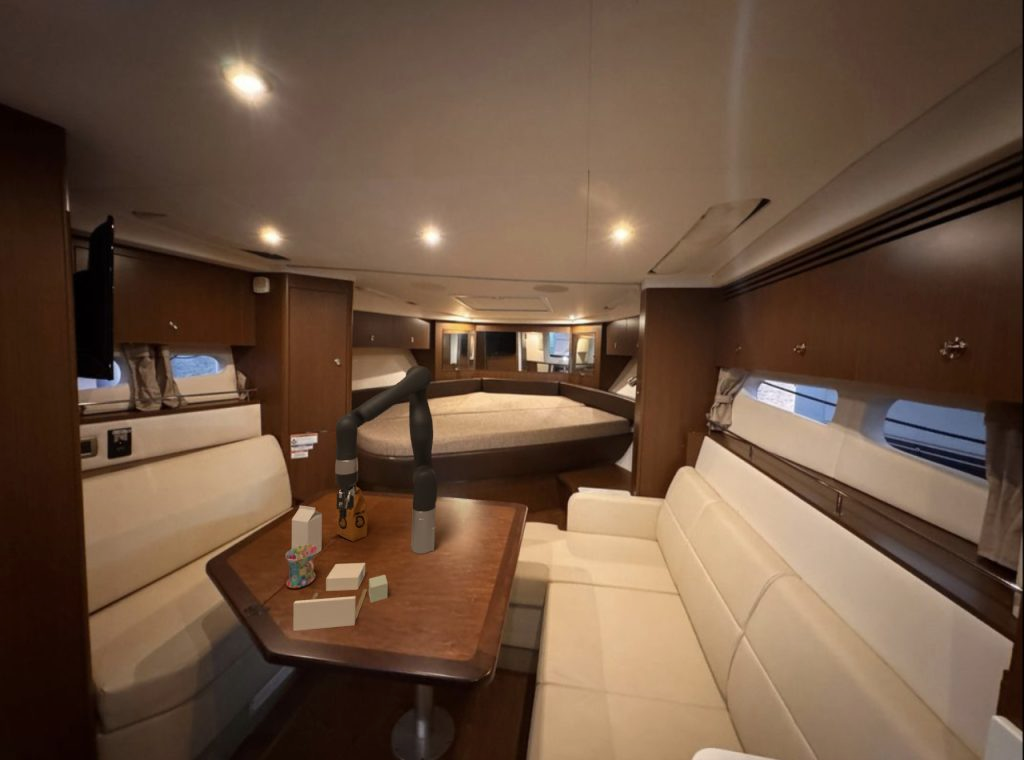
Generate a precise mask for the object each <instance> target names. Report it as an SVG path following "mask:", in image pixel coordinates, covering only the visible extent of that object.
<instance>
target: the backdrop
mask: <svg viewBox="0 0 1024 760" xmlns="http://www.w3.org/2000/svg"><path fill="white" fill-rule="evenodd" d="M356 598H357V596H356V595H353V596H342V597H341V596H340V597H331V598H330V597H329V598H316V599H314V600H311V599H305V600H303V599H302V600H295V601H294V602H293V621H292V622H293V629H292V630H293V632H295V631H296V632H298V631H308V630H317V629H318V630H319V629H329V628H338V627H340V628H341V627H349V626H350V627H351V626H355V624H356V621H355V610H356V606H357V605H356V600H357V599H356Z"/></svg>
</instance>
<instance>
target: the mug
mask: <svg viewBox="0 0 1024 760" xmlns="http://www.w3.org/2000/svg"><path fill="white" fill-rule="evenodd" d="M316 552H317V547H316V546H314V545H301V546H298V547H295V548H293V549H292V548H291V549H289V550H287V552H286V553H285V554H284V558H285V560H286V562H287V565H288V568H289V570H288V571H289V573H288V578H287V580H286V583H285V585H286V587H288V588H290V589H300V588H304V587H306V586H308V585H309V584H311V583H312V582H313V581H314V580H315V579H316V573H315V571H314V569H315V566H314V560H315V559H314V558H315V556H316V555H317V554H316ZM315 554H316V555H315Z"/></svg>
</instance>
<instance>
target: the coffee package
mask: <svg viewBox="0 0 1024 760" xmlns="http://www.w3.org/2000/svg"><path fill="white" fill-rule="evenodd" d="M346 499H347V498H346ZM341 505H343V503H342V504H341ZM368 521H369V519H368V508H367V502H366V500H365V497H364V494H363V492H362V489H361V488H360V487H358V486H356V494H355V497H354V507H353V508H347V517H346V518H345V519H340V518H339V509H337V508H336V535H338V536H340V537H342V538H345V539H346V540H349V541H351V542H354V543H355V542H356V541H358V540H361V539H363V538H365V537H367V536H368Z"/></svg>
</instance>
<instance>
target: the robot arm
mask: <svg viewBox="0 0 1024 760" xmlns="http://www.w3.org/2000/svg"><path fill="white" fill-rule="evenodd" d="M431 382H432V373H431V371H430V370H429V369H428V368H427V367H425V366H422V365H413V366H411V367H409V368H408V370H407V371H406V373H405V376H404V377H403V378H402V379H401V380H400V381H398V382H397V383H395V384H394V385H393V386H391V387H389V388H387V389H385V390H384V391H383V390H382V391H381V392H380V393H378V394H376V395H374V396H373V397H371V398H369V399H368V400H367V401H364V403H362V404H361V405H359V406H358V407H356V408H354V409H352V410H351V411H349V412H347V413H345V414H344V415H342V416H340V418H338V419H337V421H336V424H335V437H336V438H335V439H336V449H335V470H334V471H335V473H334V474H335V475H334V476H335V485H337V486H340V488H339V491H337V492H336V510H337V509H339V518H340V519H345V518H346V517H347V508H353V507H354V497H355V494H356V487H357V482H358V481H359V460H358V444H357V441H358V428H360V427H361V426H363V425H365V424H366V423H369V422H371V421H373V420H375V419H376V418H378V417H379V416H381V415H382V414H383V413H385V412H386V411H387V410H389V409H390V408H392V407H393V406H395V405H396V404H397V403H399V402H400V401H402V400H404V399H405V398H406V397H408V402H409V403H408V404H409V405H408V413H409V414H408V417H409V418H408V421H409V424H408V426H409V438H410V444H411V445H410V446H411V449H412V453H413V471H412V472H413V473H412V481H413V494H412V495H413V496H412V498H413V499H412V509H411V510H412V512H411V513H412V515H411V516H412V517H411V545H410V546H411V547H410V548H411V551H412V552H413V553H415V554H418V555H419V554H420V555H421V554H423V555H424V554H426V553H427V554H428V553H430V552H434V551H435V546H436V545H435V544H436V505H437V498H438V478H437V475H436V472H435V469H434V461H433V455H432V453H433V452H432V451H433V444H434V443H433V442H434V425H433V421H434V420H433V417H432V413H431V409H430V406H429V401H428V386H429V385H430V384H431ZM346 498H347V499H346ZM342 503H343V505H341V504H342Z"/></svg>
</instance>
